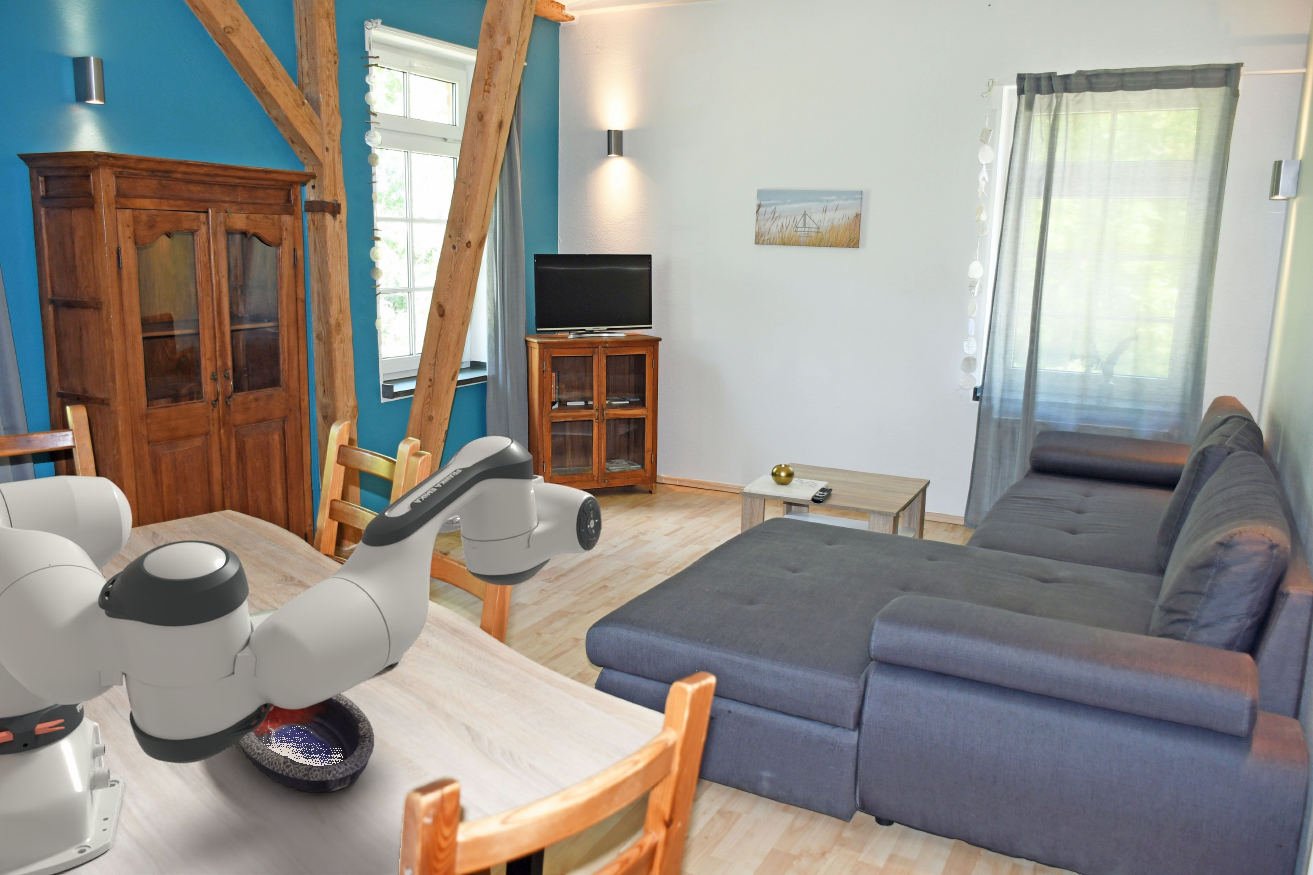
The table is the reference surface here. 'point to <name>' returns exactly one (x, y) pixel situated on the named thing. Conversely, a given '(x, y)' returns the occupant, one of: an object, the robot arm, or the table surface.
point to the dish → (330, 726)
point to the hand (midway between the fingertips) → (434, 497)
